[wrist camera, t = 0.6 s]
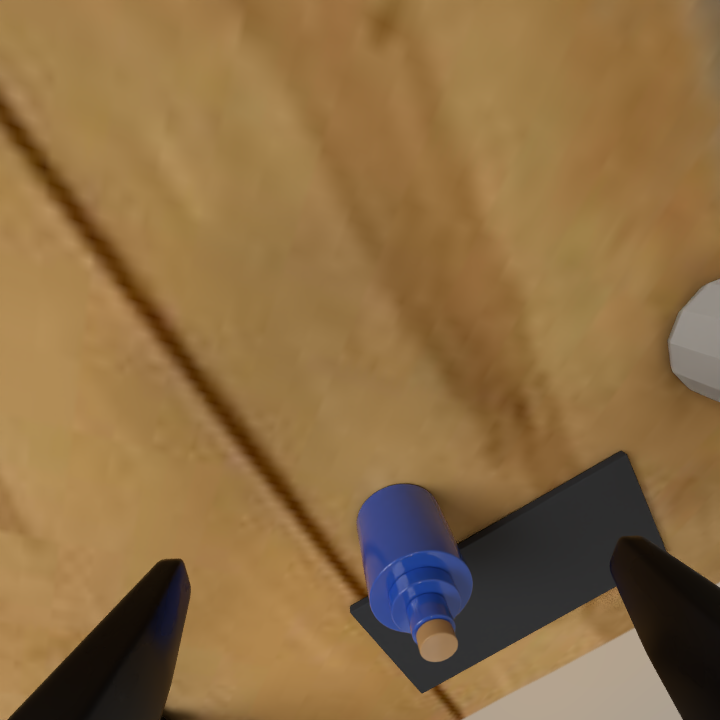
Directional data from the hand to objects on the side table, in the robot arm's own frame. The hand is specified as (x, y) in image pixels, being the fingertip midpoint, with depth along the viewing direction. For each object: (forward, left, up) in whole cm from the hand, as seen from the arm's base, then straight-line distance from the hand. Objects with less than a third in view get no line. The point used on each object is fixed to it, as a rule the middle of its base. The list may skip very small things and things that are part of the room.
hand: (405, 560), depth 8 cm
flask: (-3, -11, -14) cm, 17 cm away
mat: (+1, -20, -14) cm, 24 cm away
